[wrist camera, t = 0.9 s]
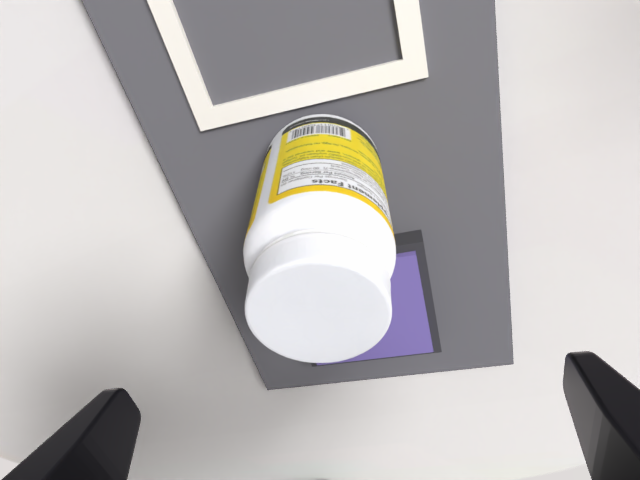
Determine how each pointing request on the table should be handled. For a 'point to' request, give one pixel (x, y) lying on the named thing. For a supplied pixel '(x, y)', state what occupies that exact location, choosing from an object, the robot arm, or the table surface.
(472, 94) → the mat
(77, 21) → the table surface
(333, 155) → the supplement bottle
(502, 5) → the table surface
